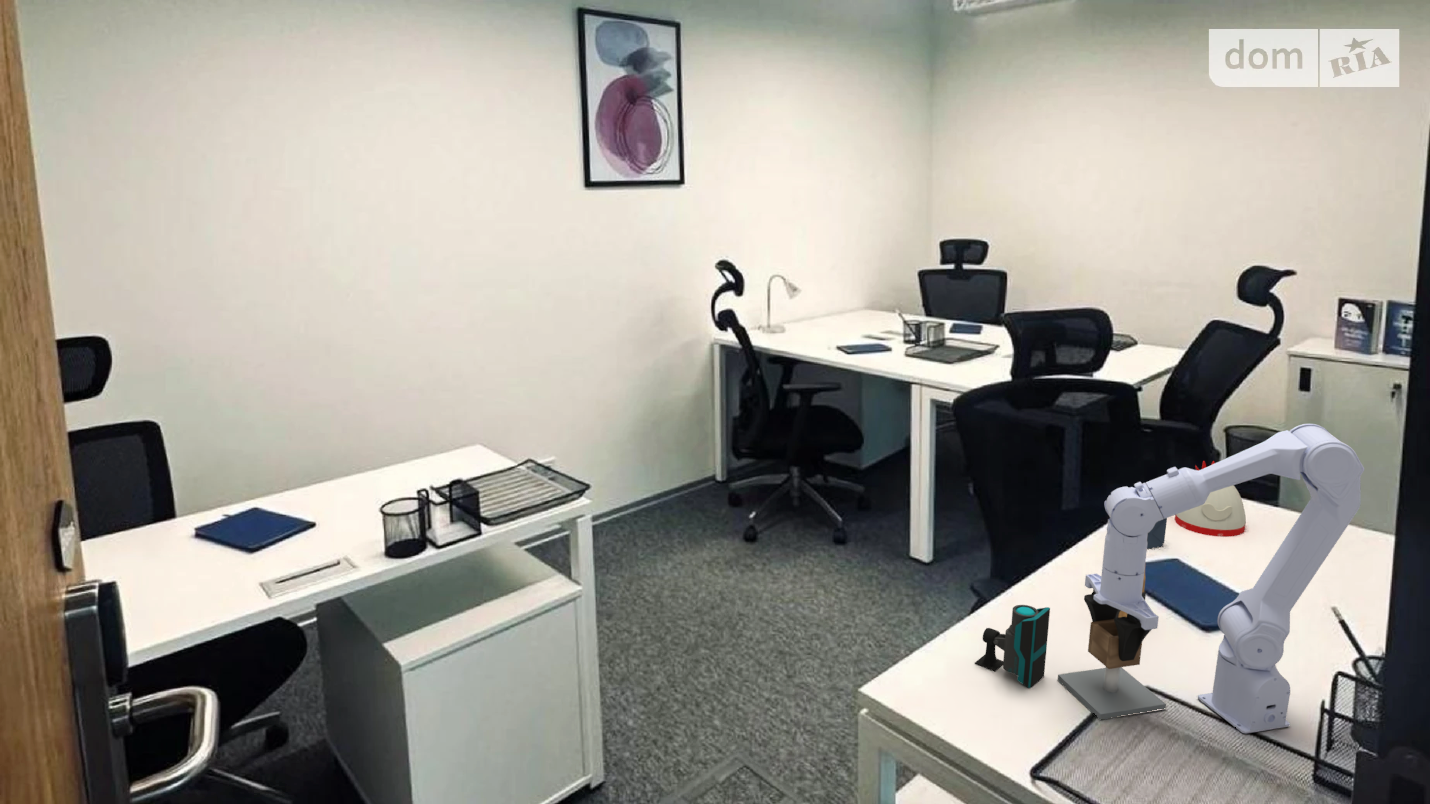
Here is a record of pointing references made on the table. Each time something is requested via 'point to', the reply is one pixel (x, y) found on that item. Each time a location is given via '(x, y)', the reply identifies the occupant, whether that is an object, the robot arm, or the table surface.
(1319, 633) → the table surface
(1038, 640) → the surveillance camera
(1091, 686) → the gray peg stand
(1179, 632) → the table surface
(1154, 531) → the vaping device
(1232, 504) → the kitchen timer
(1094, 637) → the walnut frame
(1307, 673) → the table surface
